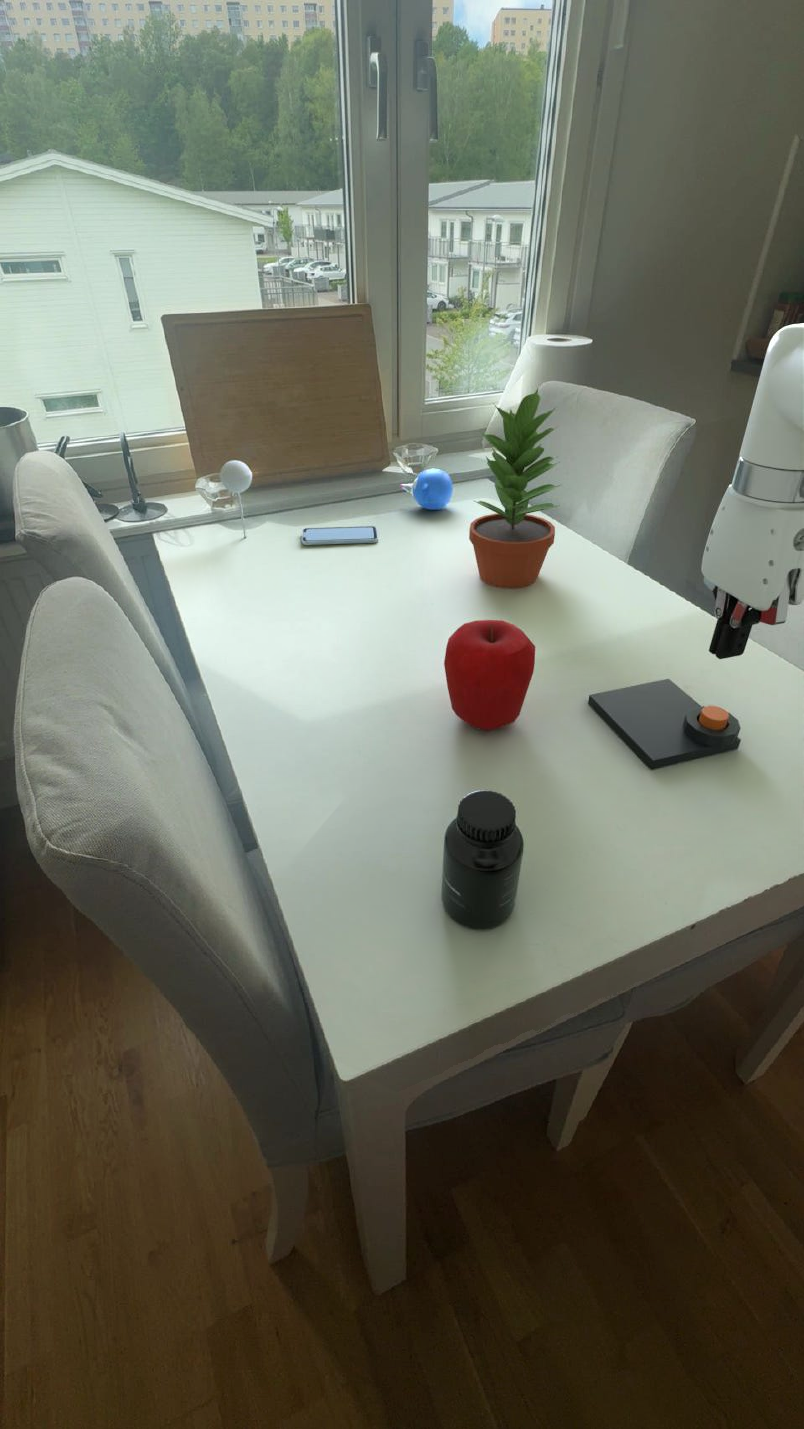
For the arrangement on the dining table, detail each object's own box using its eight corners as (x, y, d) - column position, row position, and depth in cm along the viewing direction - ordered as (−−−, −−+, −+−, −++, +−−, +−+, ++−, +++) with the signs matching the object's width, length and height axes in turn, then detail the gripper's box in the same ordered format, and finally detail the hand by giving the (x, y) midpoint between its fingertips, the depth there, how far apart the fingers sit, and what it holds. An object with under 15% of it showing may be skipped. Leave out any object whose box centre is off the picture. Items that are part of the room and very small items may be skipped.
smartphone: (378, 539, 133) (301, 541, 132) (378, 543, 134) (301, 546, 133) (376, 525, 139) (302, 528, 138) (376, 529, 140) (303, 532, 139)
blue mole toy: (408, 496, 156) (407, 459, 151) (458, 501, 153) (459, 463, 148) (391, 514, 147) (390, 474, 142) (444, 519, 144) (444, 479, 139)
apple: (428, 726, 85) (429, 631, 77) (468, 688, 92) (473, 597, 84) (504, 755, 80) (514, 657, 72) (540, 713, 87) (553, 618, 79)
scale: (743, 750, 80) (751, 730, 78) (653, 772, 77) (658, 752, 75) (669, 686, 91) (674, 667, 90) (587, 703, 88) (590, 684, 87)
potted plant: (457, 589, 116) (464, 400, 99) (478, 555, 128) (487, 381, 110) (544, 600, 112) (567, 406, 95) (557, 565, 124) (580, 385, 106)
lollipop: (224, 541, 136) (211, 464, 127) (238, 530, 140) (226, 455, 131) (252, 544, 134) (241, 466, 125) (265, 533, 139) (255, 457, 130)
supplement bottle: (428, 915, 62) (430, 820, 55) (459, 864, 67) (464, 771, 60) (499, 945, 59) (511, 849, 52) (525, 889, 64) (539, 795, 57)
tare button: (731, 728, 79) (735, 717, 79) (709, 733, 79) (713, 722, 78) (714, 714, 82) (717, 703, 81) (693, 718, 81) (696, 708, 80)
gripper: (879, 500, 57) (807, 683, 68) (754, 455, 69) (709, 617, 79) (807, 510, 55) (744, 697, 66) (691, 462, 67) (654, 627, 78)
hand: (725, 653), depth 73 cm, fingers closed
